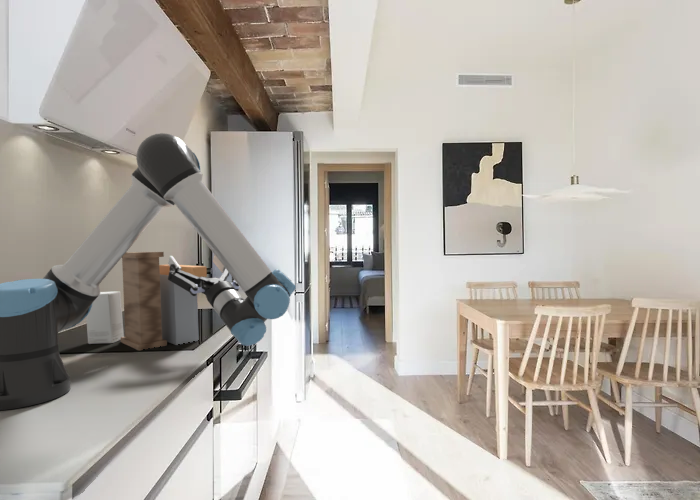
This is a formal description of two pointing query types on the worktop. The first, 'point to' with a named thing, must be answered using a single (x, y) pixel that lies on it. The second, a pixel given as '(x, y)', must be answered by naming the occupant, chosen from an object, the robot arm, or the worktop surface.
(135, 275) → the walnut shelf stand
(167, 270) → the orange blank
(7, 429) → the worktop surface
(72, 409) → the worktop surface
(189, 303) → the slate block
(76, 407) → the worktop surface
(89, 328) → the skincare box
